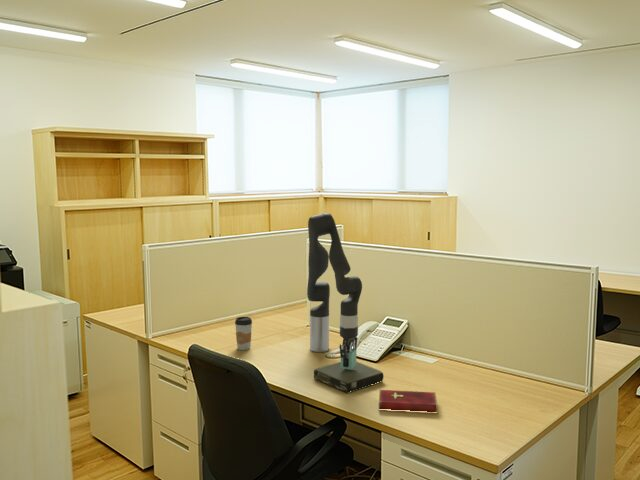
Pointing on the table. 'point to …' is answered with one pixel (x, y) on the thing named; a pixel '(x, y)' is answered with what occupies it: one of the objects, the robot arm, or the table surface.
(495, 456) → the table surface
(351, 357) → the teal block
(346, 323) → the robot arm
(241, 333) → the coffee cup
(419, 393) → the hardcover book
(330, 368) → the network switch
